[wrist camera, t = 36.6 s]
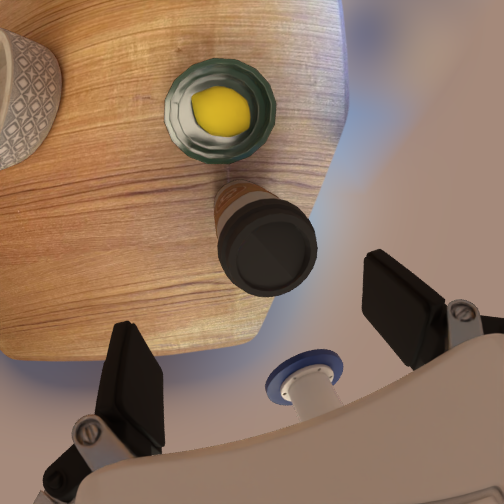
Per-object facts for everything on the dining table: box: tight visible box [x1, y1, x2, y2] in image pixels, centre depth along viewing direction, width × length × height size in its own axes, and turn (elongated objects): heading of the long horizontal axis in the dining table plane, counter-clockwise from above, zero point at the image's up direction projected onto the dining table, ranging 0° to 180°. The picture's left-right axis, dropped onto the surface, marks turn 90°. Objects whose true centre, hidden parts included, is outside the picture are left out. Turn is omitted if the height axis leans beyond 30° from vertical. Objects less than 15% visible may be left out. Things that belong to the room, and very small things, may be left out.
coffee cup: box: [214, 180, 318, 297], centre depth 28 cm, size 8×8×15 cm
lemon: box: [191, 86, 250, 137], centre depth 26 cm, size 7×5×5 cm
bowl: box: [164, 58, 276, 164], centre depth 27 cm, size 11×11×5 cm
